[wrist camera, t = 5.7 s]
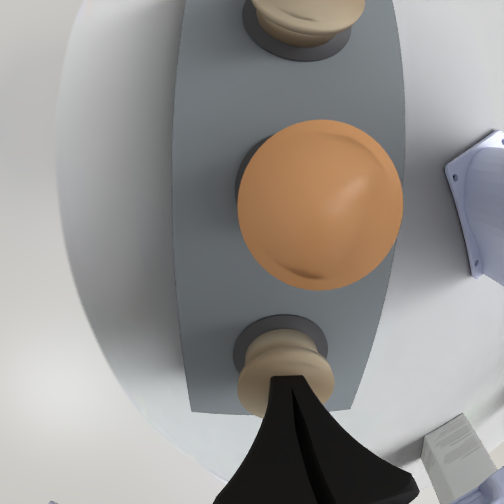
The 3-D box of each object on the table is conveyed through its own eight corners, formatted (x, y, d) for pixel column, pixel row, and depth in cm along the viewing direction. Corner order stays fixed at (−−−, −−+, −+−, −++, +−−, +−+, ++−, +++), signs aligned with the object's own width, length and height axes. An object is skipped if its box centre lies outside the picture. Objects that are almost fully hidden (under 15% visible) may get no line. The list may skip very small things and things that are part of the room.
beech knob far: (315, 385, 14) (324, 417, 11) (238, 387, 14) (237, 420, 11) (329, 322, 12) (343, 353, 10) (239, 322, 12) (237, 354, 10)
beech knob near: (348, 60, 9) (370, 39, 7) (247, 49, 9) (247, 22, 7) (342, -9, 8) (358, -35, 5) (250, -20, 8) (251, -50, 5)
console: (335, 371, 19) (350, 411, 15) (199, 371, 19) (190, 413, 15) (362, 3, 11) (387, -27, 7) (205, -11, 11) (194, -49, 7)
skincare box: (454, 438, 25) (491, 508, 10) (417, 459, 26) (448, 536, 11) (463, 410, 23) (513, 491, 8) (421, 435, 23) (464, 527, 8)
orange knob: (359, 261, 9) (389, 289, 7) (239, 258, 9) (235, 289, 7) (370, 140, 8) (408, 134, 6) (242, 127, 8) (240, 112, 6)
